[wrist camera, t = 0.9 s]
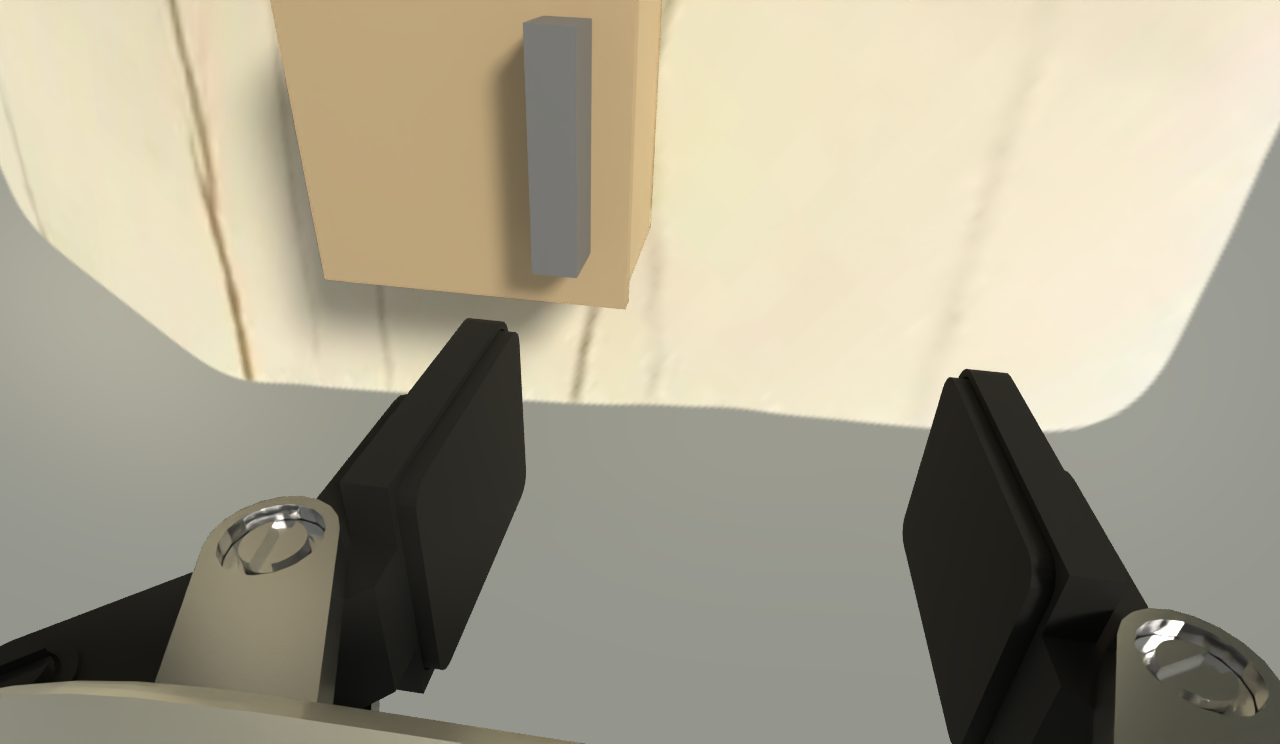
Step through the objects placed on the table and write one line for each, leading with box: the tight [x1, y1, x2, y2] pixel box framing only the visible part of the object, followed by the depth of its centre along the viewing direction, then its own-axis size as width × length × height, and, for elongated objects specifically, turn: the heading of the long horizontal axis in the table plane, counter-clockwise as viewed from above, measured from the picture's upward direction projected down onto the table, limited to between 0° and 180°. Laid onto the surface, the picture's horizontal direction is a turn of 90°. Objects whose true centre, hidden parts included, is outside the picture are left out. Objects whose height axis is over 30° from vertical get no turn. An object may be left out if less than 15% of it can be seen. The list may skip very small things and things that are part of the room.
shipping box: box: [629, 0, 662, 281], centre depth 30 cm, size 12×12×8 cm
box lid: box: [270, 0, 639, 309], centre depth 25 cm, size 12×12×3 cm
